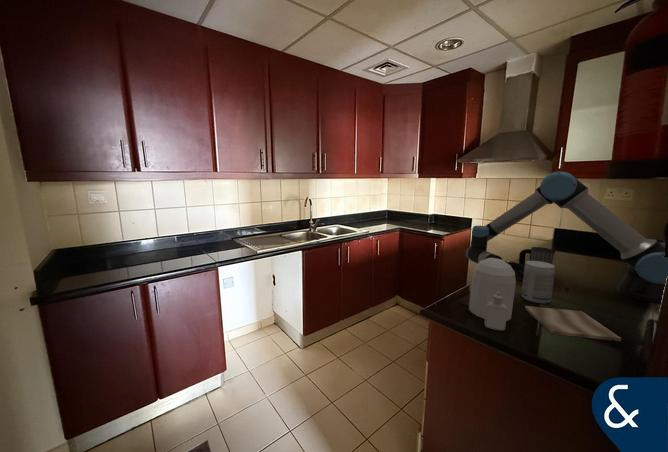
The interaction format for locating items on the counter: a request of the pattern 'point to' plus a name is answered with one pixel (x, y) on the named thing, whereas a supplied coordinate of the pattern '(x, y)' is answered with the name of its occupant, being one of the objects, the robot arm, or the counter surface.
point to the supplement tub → (538, 281)
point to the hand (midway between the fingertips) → (527, 276)
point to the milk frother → (535, 257)
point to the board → (571, 323)
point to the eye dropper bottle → (496, 313)
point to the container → (491, 285)
